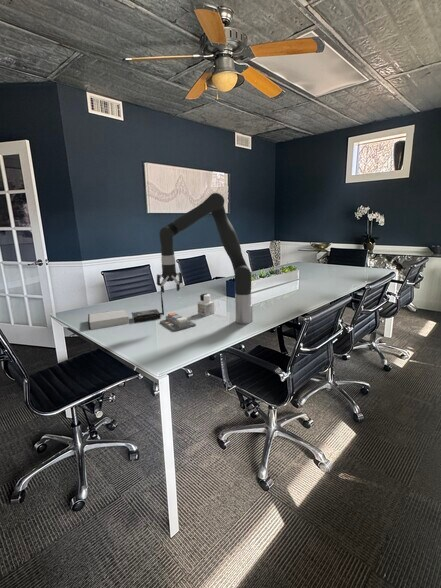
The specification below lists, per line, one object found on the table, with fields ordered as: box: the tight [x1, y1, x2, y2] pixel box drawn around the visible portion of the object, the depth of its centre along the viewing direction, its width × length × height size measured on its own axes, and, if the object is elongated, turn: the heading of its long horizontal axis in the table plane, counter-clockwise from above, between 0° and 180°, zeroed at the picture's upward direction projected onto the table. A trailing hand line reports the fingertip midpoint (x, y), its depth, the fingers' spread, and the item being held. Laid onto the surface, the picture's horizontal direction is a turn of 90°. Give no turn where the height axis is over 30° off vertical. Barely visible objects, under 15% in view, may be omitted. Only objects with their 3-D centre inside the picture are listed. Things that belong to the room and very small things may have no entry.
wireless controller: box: [131, 291, 165, 324], centre depth 187 cm, size 20×14×17 cm
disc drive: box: [87, 309, 130, 330], centre depth 183 cm, size 18×22×5 cm
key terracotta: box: [167, 311, 179, 318], centre depth 179 cm, size 4×4×2 cm
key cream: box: [177, 316, 188, 323], centre depth 169 cm, size 4×4×2 cm
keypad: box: [159, 315, 197, 332], centre depth 174 cm, size 14×19×4 cm
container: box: [197, 293, 215, 317], centre depth 192 cm, size 8×8×13 cm
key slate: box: [172, 314, 183, 321], centre depth 174 cm, size 4×4×2 cm
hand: (170, 291), depth 168 cm, fingers open, 8 cm apart
